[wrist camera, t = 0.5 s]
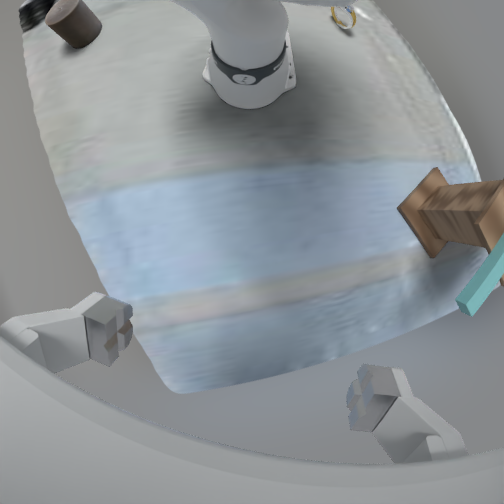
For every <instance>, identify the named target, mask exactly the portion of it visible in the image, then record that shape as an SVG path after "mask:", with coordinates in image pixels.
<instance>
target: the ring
mask: <svg viewBox="0 0 504 504" xmlns="http://www.w3.org/2000/svg"><path fill="white" fill-rule="evenodd" d="M339 8H341V9H342V10H343V11H344V12H345V13H346V14H347V15H348V16H349V19H350V23H349V25H348V26H345V25H343V24H342V22H341V21H339V19H338V17H337V15H336V7H331V12H332V15H333V18H334V20H335V21H336V24H337V25H339V26H340V27H341V28H343V29H350V28H352V27H353V26H354V25H355V23H356V15H355V13H354V8H353V6H352V5H349V6H347V7H339Z"/></svg>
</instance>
